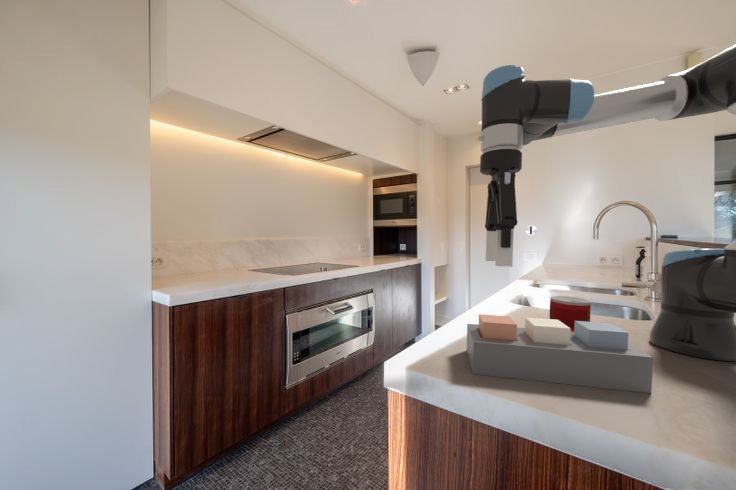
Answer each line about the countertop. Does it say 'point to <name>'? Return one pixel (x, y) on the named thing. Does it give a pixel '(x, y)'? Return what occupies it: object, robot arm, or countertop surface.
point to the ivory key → (547, 331)
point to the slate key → (601, 335)
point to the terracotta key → (497, 327)
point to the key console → (559, 362)
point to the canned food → (569, 310)
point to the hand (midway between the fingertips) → (497, 263)
